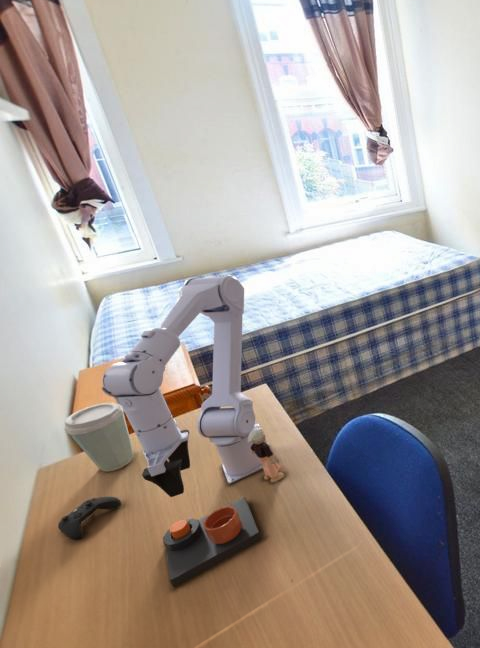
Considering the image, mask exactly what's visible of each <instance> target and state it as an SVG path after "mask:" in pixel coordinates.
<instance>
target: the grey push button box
mask: <svg viewBox="0 0 480 648" xmlns="http://www.w3.org/2000/svg"><path fill="white" fill-rule="evenodd" d="M227 506H232V507H235V508H236V510H237V512H238V515H239V517H240V519H241V522H242V525H243V526H242V528H241V530H240V532H239V534H238V535H237V536H236V537H235V538H234V539H232V540H231V541H229V542H227V543H224V544H215V543H212V542H211V541H210V539H209V537H208V535H207V533H206V531H205V529H204V525H203V523H204V521H205V520H206V518H207V517H208V516H209V515H210V514H211V513H210V514H208V515H205V516H204V517H202V518H199V519H196V518H192V517H191V518H187V519H186V520H187V522H188V524H189V526H190V531H189V532H188V533H187V534H186V535H185V536H183V537H181V538H178V539H175V538H173V536H172V534H171V532H170V528H169V529H167V530H166V531H165V533H164V535H163V537H162V543H163V545H164V547H165V554H166V561H167V569H168V575H169V581H170V584H171V585H172V587H173V588H174V589H175V588H177V587H178V586H180V585H182V584H184V583H186V582H188V581H190V580H192V579H193V578H195V577H196V576H198V575H200V574H202V573H203V572H206V571H207V570H209V569H211V568H213V567H215V566H216V565H218V564H220V563H222V562H224V561H226V560H228V559H229V558H231V557H233V556H235V555H236V554H238V553H240V552H241V551H244V550H245V549H247V548H249V547H251V546H253V545H254V544H257V543H258V542H260V541H261V540H262V539H263V538H262V536H261V534H260V531H259V528H258V525H257V523H256V520H255V518H254V516H253V512H252V510H251V508H250V505H249V503H248V500H247V497H246V496H244V497H242V498H240V499H238V500H236V501H233V502H231V503H229V504H228V505H226V506H225V507H227Z"/></svg>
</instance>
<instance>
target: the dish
mask: <svg viewBox="0 0 480 648" xmlns="http://www.w3.org/2000/svg"><path fill="white" fill-rule="evenodd" d="M226 506H227V507H226ZM226 506H222V507H220V508H218V509H216V510H214V511H213V512H211V513H210V515H209V514H208V515H209V516H208V517H207V518H206V520H205V521H204V523H203V525H204V529H205V531H206V533H207V535H208V537H209V539H210V541H211V542H212V543H215V544H224V543H227V542H229V541H231V540H232V539H234V538H235V537H236V536H237V535H238V534H239V532H240V530H241V528H242V526H243V525H242V522H241V519H240V517H239V515H238V512H237V510H236V508H235V507H232V506H228V505H226Z"/></svg>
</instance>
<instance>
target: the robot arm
mask: <svg viewBox="0 0 480 648" xmlns="http://www.w3.org/2000/svg"><path fill="white" fill-rule="evenodd" d="M178 295H179V297H178V298H177V301H176V302H175V303H174V305H173V306H172V308H171V309H170V311H169V312H168V314H167V315H166V317H165V318H164V320H163V321H162V323H161V324H160V326H159V327H152V328H149V329H147V330H144V331H142V333H141V334H140V337H141V338H140V339H139V340H138V341H137V342H136V344H134V346H133V347H132V348H131V350H130V351H129V352H127V353H126V354H125V356H124V358H123V359H122V361H120V362H116V363H113V364H112V365H110V366H109V368H107V370H105V372H104V373H103V375H102V385H103V386H102V387H101V390H102V392H103V393H104V394H105V395H107V396H109V397H111V398H113V399H115V403H116V404H119V405H121V406H122V408H123V410H124V412H123V413H124V415H126V417H127V420H128V422H129V424H130V426H131V428H132V430H133V431H134V434H135V436H136V438H137V440H138V442H139V444H140V446H141V448H142V449H141V451H142V453H143V456H144V458H145V460H146V462H147V467H146V468H144V469H143V470H142V474H141V476H142V478H143V479H144V481H146V482H150V483H153V484H154V485H156V486H157V487H159V488H160V489H161V490H162V491H163V492H164V493H165V494H166V495H167V496H169V497H170V498H173V497H176V496H179V495H183V494H184V492H185V486H184V481H183V479H182V473H181V471H184V470H188V469H190V468H191V460H190V453H189V438H190V431H189V429H182V430H180V426H179V424H178V422H177V420H176V419H174V417H173V414H172V412H171V409H170V408H169V406H168V403H167V402H166V399H165V397H164V394H163V393H162V390H161V386H162V384H163V380H164V372H165V371H166V366H167V364H168V363H169V362H170V360H171V359H172V358H173V356H174V355H175V353H176V352H177V351H178V349H179V348H180V347H181V339H180V336H181V335H182V333H184V332H185V330H186V329H187V328H188V327H189V326H190V325H191V323H192V322H193V321H194V320H195V319H196V318H197V317H198V316H199V315H200V314H201V315H204V316H205V317H208V318H209V319H210V320H211V321H212V322H213V350H212V351H213V352H212V353H213V354H212V355H213V357H212V384H211V385H212V386H211V388H212V389H211V395H210V396H209V397H208V398H206V400H204V401H203V402H202V403H201V409H200V414H199V416H198V419H197V422H196V423H197V424H196V427H197V431H198V433H199V435H200V436H202V437H203V438H206V439H207V438H208V439H209V443H213V444H214V446H215V448H216V451H217V453H218V456H219V458H220V460H221V462H222V465H221V467H222V470H223V473H224V475H225V478H226V481H227V483H228V485H231V484H234V483H236V482H237V481H239V480H241V479H244V478H246V477H248V476H250V475H252V474H254V473H256V472H258V471H261V470H263V467H262V464H261V461H260V459H259V457H258V456H257V455H256V454H252V450H251V446H252V444H253V442H251V443H249V442H248V437H249V434H250V433H251V431H252V430H254V429H255V428H261V429H262V427H261V426H260V424H259V422H258V423H256V414H255V411H254V408H253V403H254V401H253V400H252V399H251V398H249V397H248V396H246V395H245V394H243V393H242V358H243V357H242V355H243V354H242V353H243V351H242V350H243V314H244V312H245V287H244V286H243V285H242V283H241V281H240V280H239V279H238V278H237V277H235V276H234V275H225V276H214V277H213V276H212V277H199V278H198V277H190V278H188V279H186V280H185V281H184V283H183V285H182V286H181V287H180V288H178ZM264 442H265V443H267V444H268V445H269V447H270V444H269V442H267V439H266V438H265V441H264ZM270 450H271V451H272V449H271V447H270Z"/></svg>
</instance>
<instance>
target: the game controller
mask: <svg viewBox="0 0 480 648" xmlns="http://www.w3.org/2000/svg"><path fill="white" fill-rule="evenodd" d="M121 505H122V501H121V500H120V498H118V497H115V496H101V497H94V498H89V499H87V500H85V501H83V502H82V503H81V504H80V505H79V506H77V507H76V508H75V509H73V510H72V511H71V512H70V513H68V514H67V515H64V516H63V517H61V519H60V520H59V522H58V525H57V528H58V530H59V532H61V533H62V534H63V535H64V536H65V537H67V538H68V539H70V540H73V541H78V540H81V539H83V537H84V531H83V526H82V523H83V522H84V521H85V520H86V519H88V518H89V517H90V516H92V515H93V514H94V513H95V512H96V511H98V510H116V509H118V508H120V507H121Z"/></svg>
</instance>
